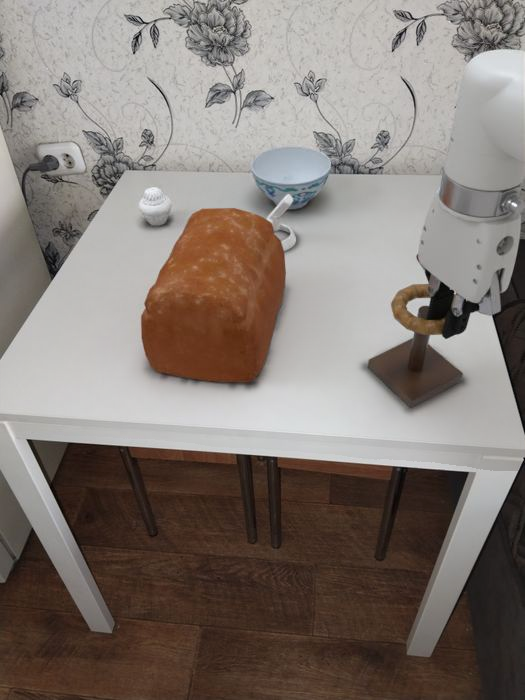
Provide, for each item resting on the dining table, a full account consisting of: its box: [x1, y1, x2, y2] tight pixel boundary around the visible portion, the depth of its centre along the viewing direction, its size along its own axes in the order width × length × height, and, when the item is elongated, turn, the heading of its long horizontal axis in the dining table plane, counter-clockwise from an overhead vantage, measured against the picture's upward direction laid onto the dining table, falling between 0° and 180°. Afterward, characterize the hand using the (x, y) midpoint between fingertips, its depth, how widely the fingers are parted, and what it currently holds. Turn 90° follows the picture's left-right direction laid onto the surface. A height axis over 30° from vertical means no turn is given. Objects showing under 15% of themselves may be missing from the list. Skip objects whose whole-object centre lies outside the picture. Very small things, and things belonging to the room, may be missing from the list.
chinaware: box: [250, 145, 332, 210], centre depth 113 cm, size 15×15×8 cm
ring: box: [390, 283, 456, 336], centre depth 73 cm, size 9×9×2 cm
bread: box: [140, 207, 287, 383], centre depth 85 cm, size 17×24×15 cm
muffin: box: [137, 186, 173, 227], centre depth 110 cm, size 6×6×7 cm
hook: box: [266, 194, 297, 252], centre depth 103 cm, size 8×12×7 cm
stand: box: [367, 305, 464, 409], centre depth 78 cm, size 9×9×12 cm
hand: (445, 325), depth 71 cm, fingers closed on ring, 2 cm apart
